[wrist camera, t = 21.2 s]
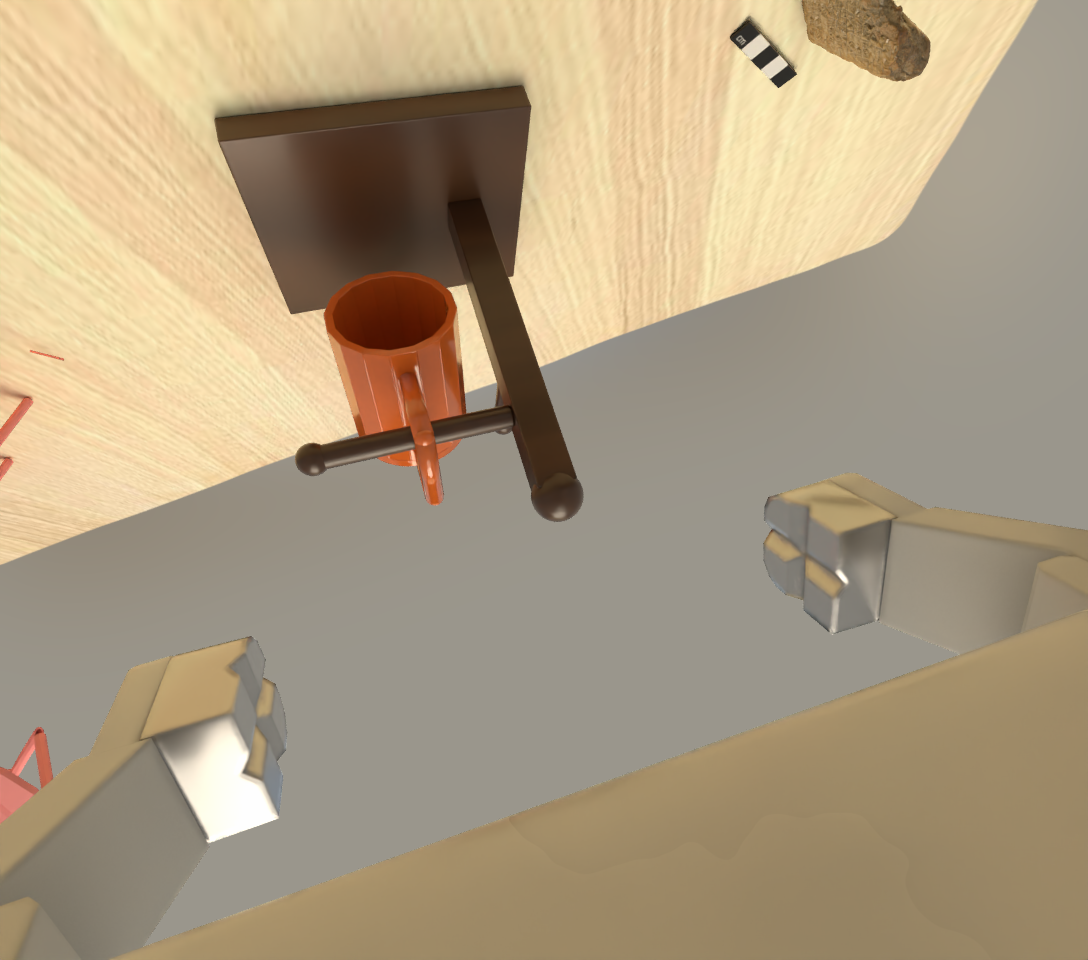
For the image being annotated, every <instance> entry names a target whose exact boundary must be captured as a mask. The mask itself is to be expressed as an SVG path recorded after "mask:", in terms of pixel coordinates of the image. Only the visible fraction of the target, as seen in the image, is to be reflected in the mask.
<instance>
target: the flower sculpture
mask: <svg viewBox="0 0 1088 960" xmlns="http://www.w3.org/2000/svg"><path fill="white" fill-rule="evenodd" d="M30 352H32V353H36V354H40V355H44V356H48V357H52V358H56V359H60V360H64V359H63V358H59V357H55V356H52V355H48V354H44V353H40V352H36V351H32V350H30ZM32 404H33V401H32V400H31V399H29V398H24V399H23V401H22V402H21V403H20V404H19V406H18V407H17V408H16V410H15V411H14V412H13V414H12V415H11V416H10V417H9V419H8V420H7V421H6V423H5V424H4V425H3V427H2V428H1V429H0V446H1V445H2V443H3V442H4V441H5V439H6V438H7V437H8V435H9V434H10V433H11V431H12V430H13V429H14V427H15V426H16V425H17V423H18V422H19V421H20V420H21V418H22V417H23V416H24V414H25V413H26V412H27V410H28V409H29V408H30V406H31V405H32ZM12 464H13V461H12V460H10V459H5V460H4V461H3V463H2V464H1V466H0V480H1V479H2V478H3V476H4V475H5V473H6V472H7V471H8V469H9V468H10V466H11V465H12ZM34 750H36V757H37V763H38V769H39V776H40V783H41V789H42V788H43V787H44V786H45V785H47V784H48V783H49V782H50V781H51V780H52V779H53V775H52V769H51V763H50V757H49V751H48V745H47V739H46V734H44V730H43V729H42V728H41V727H38V728H36V729H35V731H34V732H33V734H32V735H31V737H30V738H29V740H28V742H27V743H26V745H25V747H24V748H23V750H22V752H21V753H20V755H19V757H18V758H17V760H16V762H15V764H14V766H13V767H12V769H8V770H7V769H4V768H2V767H0V824H1V823H2V822H3V821H4V820H6V819H7V818H8V817H9V816H10V815H11V814H13V813H14V812H15V811H16V810H17V809H18V808H20V807H21V806H22V805H23V804H24V803H25V802H27V801H28V800H29V799H30V798H31V797H32V796H34V795H35V794H36V793H37V792H38V791H39V790H38V789H37V788H36V787H34V786H32V785H31V784H29V783H27V782H26V781H24V780H23V779H21V778H20V777H19V774H20V772H21V771H22V769H23V767H24V766H25V764H26V763H27V761H28V759H29V758H30V756H31V755H32V753H33V751H34Z"/></svg>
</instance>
